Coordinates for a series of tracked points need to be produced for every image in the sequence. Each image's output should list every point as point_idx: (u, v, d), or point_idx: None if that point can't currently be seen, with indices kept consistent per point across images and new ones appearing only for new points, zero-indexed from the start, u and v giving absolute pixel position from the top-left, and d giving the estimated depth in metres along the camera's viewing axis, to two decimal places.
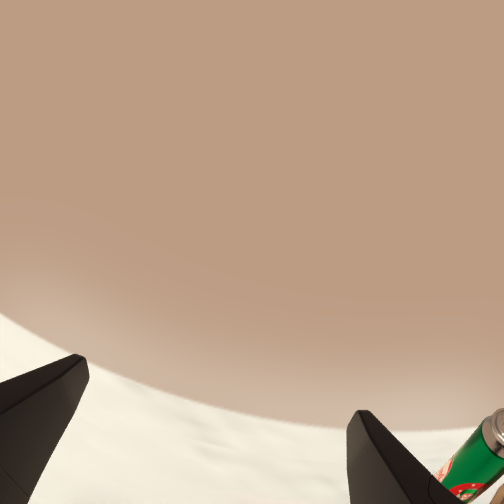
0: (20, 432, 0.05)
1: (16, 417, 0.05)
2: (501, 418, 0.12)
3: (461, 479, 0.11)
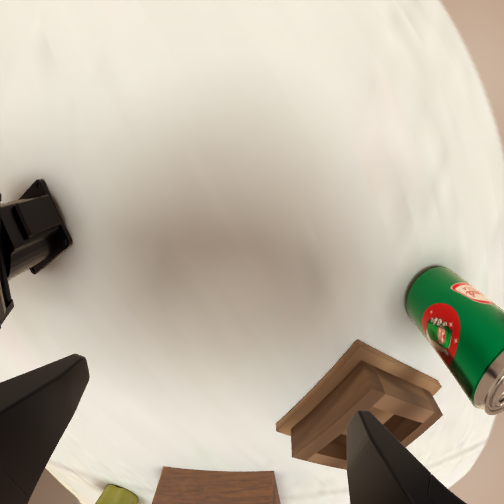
0: (20, 432, 0.05)
1: (16, 418, 0.05)
2: None
3: (466, 321, 0.13)
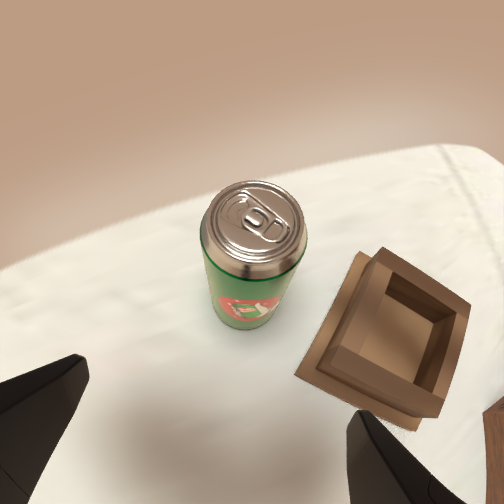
0: (20, 432, 0.05)
1: (16, 418, 0.05)
2: (237, 202, 0.13)
3: (217, 290, 0.16)
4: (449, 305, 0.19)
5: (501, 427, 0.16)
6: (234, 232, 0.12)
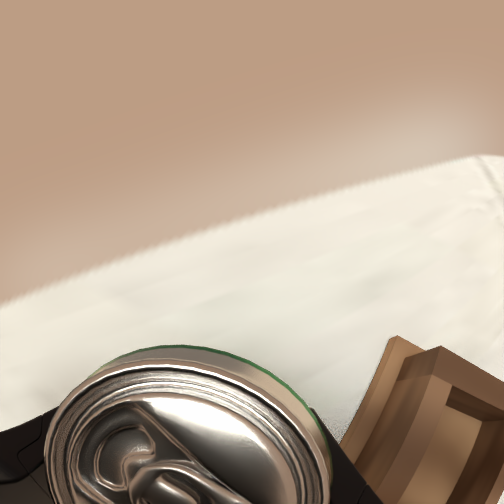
0: None
1: None
2: (121, 429, 0.03)
3: None
4: None
5: None
6: None
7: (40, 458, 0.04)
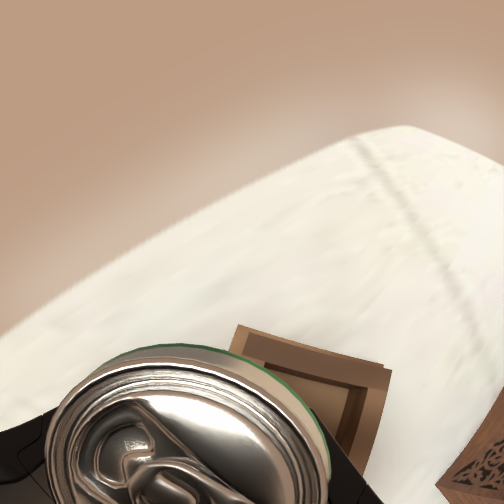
0: None
1: None
2: (120, 427, 0.03)
3: None
4: (356, 382, 0.17)
5: (458, 498, 0.13)
6: None
7: (40, 458, 0.04)
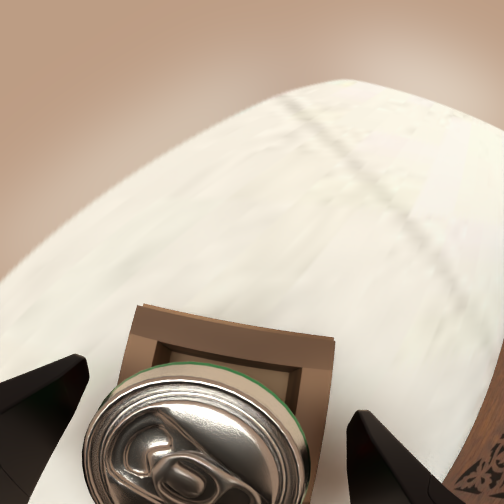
0: (20, 432, 0.05)
1: (16, 417, 0.05)
2: (146, 428, 0.05)
3: None
4: (282, 361, 0.13)
5: None
6: None
7: None
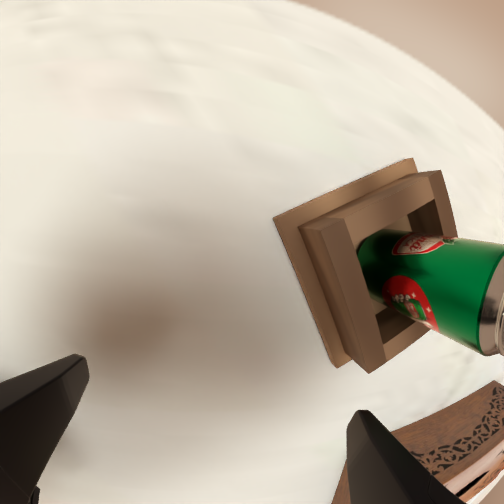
0: (20, 432, 0.05)
1: (16, 418, 0.05)
2: None
3: (427, 283, 0.12)
4: None
5: None
6: None
7: None
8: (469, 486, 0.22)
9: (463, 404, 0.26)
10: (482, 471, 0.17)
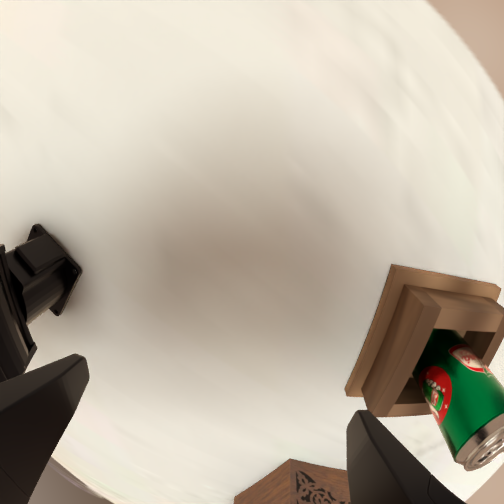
0: (20, 432, 0.05)
1: (16, 418, 0.05)
2: None
3: (458, 390, 0.13)
4: None
5: (280, 482, 0.25)
6: (493, 443, 0.09)
7: None
8: None
9: None
10: None
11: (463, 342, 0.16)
